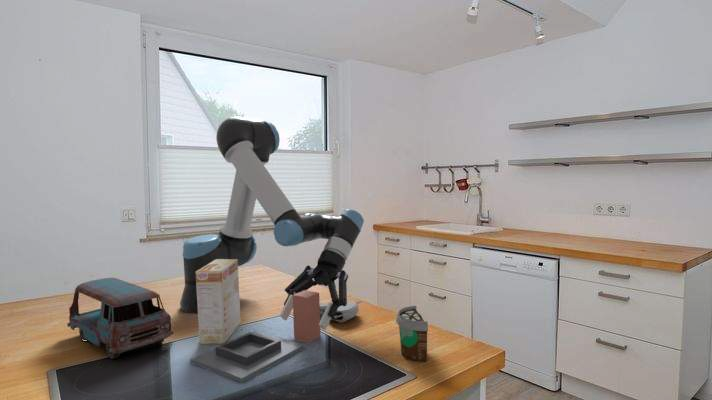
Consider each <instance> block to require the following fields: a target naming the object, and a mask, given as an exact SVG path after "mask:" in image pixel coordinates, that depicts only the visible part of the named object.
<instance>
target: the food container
mask: <svg viewBox="0 0 712 400" xmlns="http://www.w3.org/2000/svg"><path fill="white" fill-rule="evenodd" d="M395 323H396V324H397V325H398V327H399V328H398V329H399V340H400V350H401V355H402V357H403V358H404V359H406V360H408V361H412V362H416V363H417V362H418V363H427V362H428V360H427V359H428V355H427V354H428V332H429V325H428V321H426V320H425V321H424V318H423V317H422V315H421V314H420V313H419V311H418V310H417V305H410V306H404V307H403V308H401V309H399V310H398V312H397V314H396V319H395Z"/></svg>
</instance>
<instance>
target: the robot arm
mask: <svg viewBox="0 0 712 400" xmlns="http://www.w3.org/2000/svg"><path fill="white" fill-rule="evenodd" d="M216 144H217V147H218V150H219V152H220V154H221V155H222V157H223V159H224V160H225V161H226V162H227V163H230V164H231V165H233V167H234V168H235V175H234V180H233V184H232V190H231V195H230V200H229V205H228V209H227V216H226V220H225V223H224V225H222V226H221V227H220V229H219V233H218V234H216V233H215V234H214V233H213V234H211V233H210V234H209V233H206V234H202V235H200V234H199V235H196V236H193V237H191V238H188V239H187V240H186V241H185V242H184V243H183V245H182V246H183V247H182V248H183V249H182V257H183V273H184V276H183V277H184V286H183V287H184V288H183V291H182V294H181V298H180V301H179V306H180V307H179V308H181V309H182V310H183V312H184V311H187V312H186V313H190V312H194V314H196V313H197V314H198V306H197V289H196V273H195V272H196V271H198V270H199V269H201V268H203V267H204V266H206V265H207V264H209V263H211V262H212V261H214V260H216V259H238V267H241V266H243V265H245V264H247V263H250V262H251V261H252V260H253V258H255V256H256V253H257V247H258V245H257V242H256V238H255V237H254V233H253V230H251V224H252V221H253V215H254V210H255V205H256V200H257V202H258V203H259V204H260V206H261V208H262V209H263V210H264V212H265V213H266V215H267V216H268V218H269V219H270V221H271V222H272V223H273V224H274V228H273V236H274V240H275V242H276V243H278V244H279V245H280V246H282V247H293V246H294V247H295V246H298V245H300V244H304V243H307V242H311V241H316V240H318V239H319V240H320V239H324V240H327V241H326V243H325V245H324V247H323V250H322V251H321V253H320V255H319V257H318V259H317V265H316V266H315V267H314V268H313V267H311V266H310V265H306V266H305V268H304V270H303V271H302V272H301V273H300V274H298V276H297V277H296V278H294V280H293V281H292V282H291V283H289V285H288V286H286V287H285V289H284V291H285V293H286V294H287V297H286V298H285V301H284V303H283V308H282V310H281V311H280V313H279V316H280V317H281V318H282V319H283V320H284V321H288V319H289V316H290V314H291V313H292V311H293V295H294V294H296V293H299V292H302V291H304V290H306V291H309V289H310V288H312V287H315V286H317V285H318V286H324V287H328V291H329V295H330V298H331V300H330V301H329V302H327V303H328V305H327V307H326V310H325V312H324V314H323V316H322V318H320V322H319V326H320V329H322V330H323V331H326V330H327V328H328V326H329V324H330V322H331V317H332V318H333V317H334V316H335V313H336V311H337V309H338V307H340V306H346V305H347V301H348V298H347V297H348V295H347V293H348V292H347V290H348V287H347V281H348V279H349V275H348V273H347V272H346V271H345V270H343V269H344V266H345V265H346V261H347V260H348V258H349V256H350V253H351V251H352V249H353V247H354V245H355V243H356V241H357V239H358V237H359V235H360V233H361V232H362V227H363V225H364V222H365V220H364V218H363V216H362V214H361V213H360V212H359V211H357V210H354V209H351V208H347V209H344V210H342V211H341V213H340V215H329V214H324V213H323V214H322V213H318V212H314V213H312V212H306V213H305V214H304V215H303V216H301V215H300V213H298V211H297V210H296V208H295V207H294V206H293V204H292V203H291V202H290V200H289V198H287V196H286V194H285V193H284V192H283V190H282V188H280V185H279V184H278V183H277V182H276V180H275V179H274V178H273V176H272V174H270V172H269V170H268V169H267V167H266V166H265V165H266V164H268V163H269V160H270V155H272V154H275V152H276V151H277V150H278V149H279V146H280V133H279V131H278V130H277V127H276V126H275V125H274V124H273V123H272V122H270V121H268V120H263V119H260V118H251V117H250V118H249V117H243V116H231V117H228V118H227V119H225V120H223V121H222V122H221V123H220V125H219V126H218V129H217V131H216ZM337 279H338V292H337V287H336V283H335V281H336V280H337ZM181 309H180V310H181ZM182 310H181V311H182Z"/></svg>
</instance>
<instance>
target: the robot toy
mask: <svg viewBox="0 0 712 400" xmlns="http://www.w3.org/2000/svg"><path fill="white" fill-rule="evenodd" d="M319 303H320V319H321V318H322V316H323V314H324V312H325V310H326V307H327V305H328V303H329V302H319ZM360 303H362V301H358V302H356V301H355V300H353V301H351V300H350V301H349V300H347V305H346V306H340V307H338V309H337V311H336V313H335V316H334V317H333V318H332V317H331V319H330V321H336V322H338V323H341V324H342V323H345V322H347V320H351V319H353V318H354V317H356V316H357V315H358V313H359V304H360Z"/></svg>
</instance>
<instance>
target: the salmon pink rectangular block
mask: <svg viewBox="0 0 712 400" xmlns="http://www.w3.org/2000/svg"><path fill="white" fill-rule="evenodd" d="M320 303H321V302H320V292H318V291H317V292H316V291H311V290H304V291H302V292H299V293H296V294H295V293H294V295H293V309H292V311H293V312H292V313H293V314H292V315H293V340H296V341H301V342H304V343H311V342H313V341H315V340H316V339H319V338H320V337H321V327H320V326H319V322H320V320H321V318H320Z"/></svg>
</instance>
